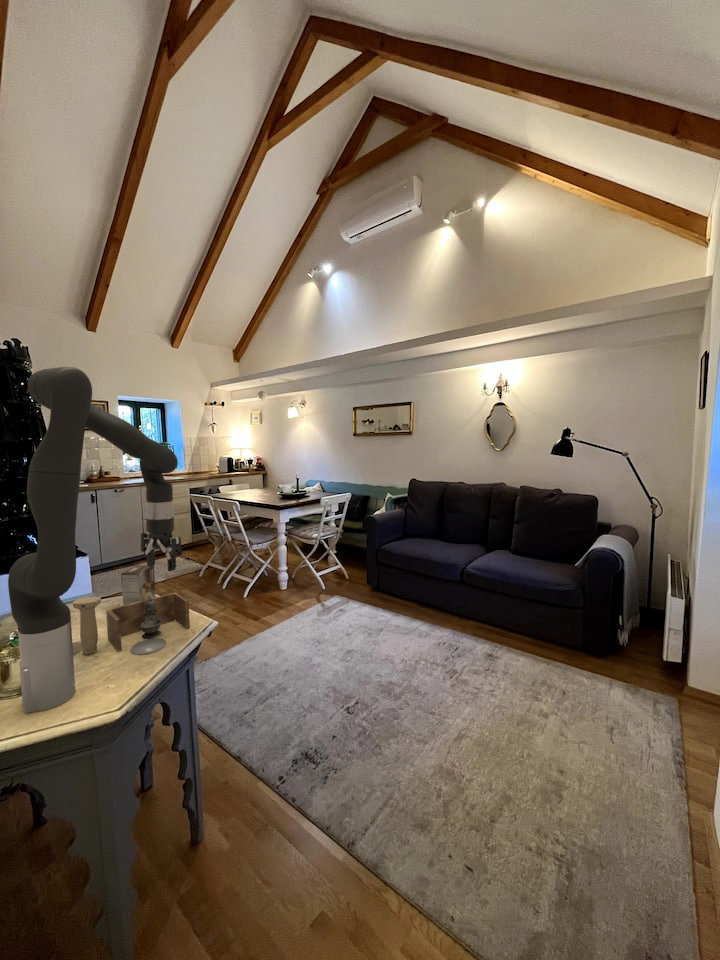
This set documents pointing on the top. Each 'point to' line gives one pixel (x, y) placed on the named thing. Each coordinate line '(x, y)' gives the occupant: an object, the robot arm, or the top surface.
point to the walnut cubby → (133, 615)
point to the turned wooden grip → (88, 623)
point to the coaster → (148, 646)
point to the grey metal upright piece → (150, 621)
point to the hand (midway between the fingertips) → (161, 568)
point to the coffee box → (138, 584)
